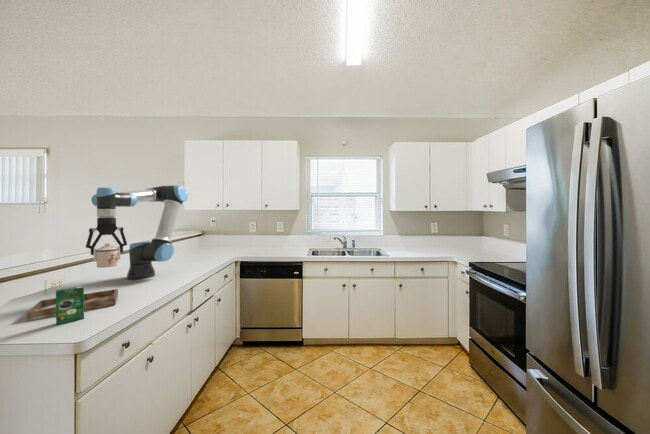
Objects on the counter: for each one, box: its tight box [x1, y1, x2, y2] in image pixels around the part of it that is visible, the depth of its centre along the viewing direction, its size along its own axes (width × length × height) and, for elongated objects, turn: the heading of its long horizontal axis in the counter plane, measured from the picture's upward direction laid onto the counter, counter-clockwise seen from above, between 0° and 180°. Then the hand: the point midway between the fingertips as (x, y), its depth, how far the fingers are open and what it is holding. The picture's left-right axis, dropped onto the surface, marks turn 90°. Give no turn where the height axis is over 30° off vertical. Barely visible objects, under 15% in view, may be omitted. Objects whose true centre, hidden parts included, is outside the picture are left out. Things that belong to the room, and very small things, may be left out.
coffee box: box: [55, 285, 85, 325], centre depth 101 cm, size 8×3×13 cm, turn 136°
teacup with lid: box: [95, 243, 119, 268], centre depth 134 cm, size 12×9×12 cm
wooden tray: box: [26, 288, 119, 322], centre depth 116 cm, size 27×17×4 cm, turn 126°
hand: (107, 260), depth 134 cm, fingers closed on teacup with lid, 9 cm apart
